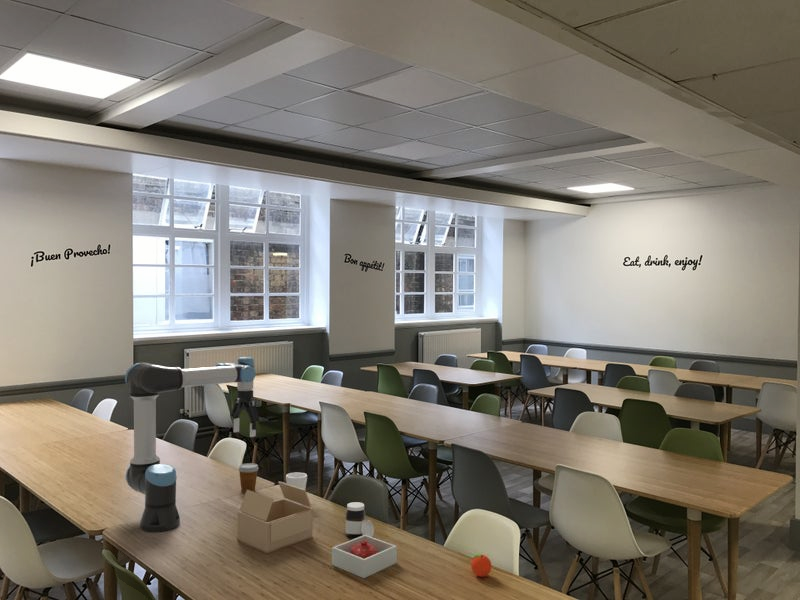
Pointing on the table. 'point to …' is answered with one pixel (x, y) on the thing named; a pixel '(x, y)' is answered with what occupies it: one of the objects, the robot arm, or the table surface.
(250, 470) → the disposable coffee cup
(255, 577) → the table surface
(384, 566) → the dish caddy
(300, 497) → the flap far
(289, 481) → the foam cup
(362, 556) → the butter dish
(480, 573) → the clementine
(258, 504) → the flap near
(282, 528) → the carton
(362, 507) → the spread jar
